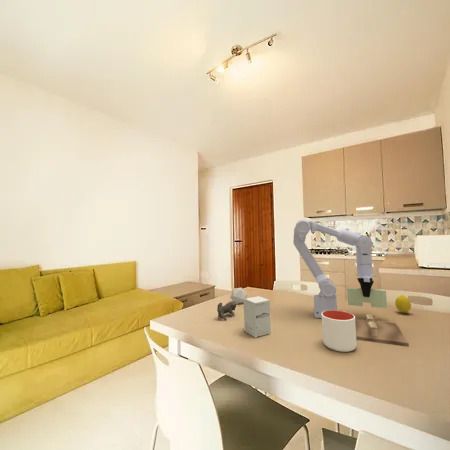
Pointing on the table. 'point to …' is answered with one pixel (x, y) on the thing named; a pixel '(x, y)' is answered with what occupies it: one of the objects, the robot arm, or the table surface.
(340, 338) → the cup
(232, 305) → the dog figurine
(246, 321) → the supplement box
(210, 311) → the table surface
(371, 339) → the base
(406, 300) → the lemon
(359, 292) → the slotted plate
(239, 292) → the die
